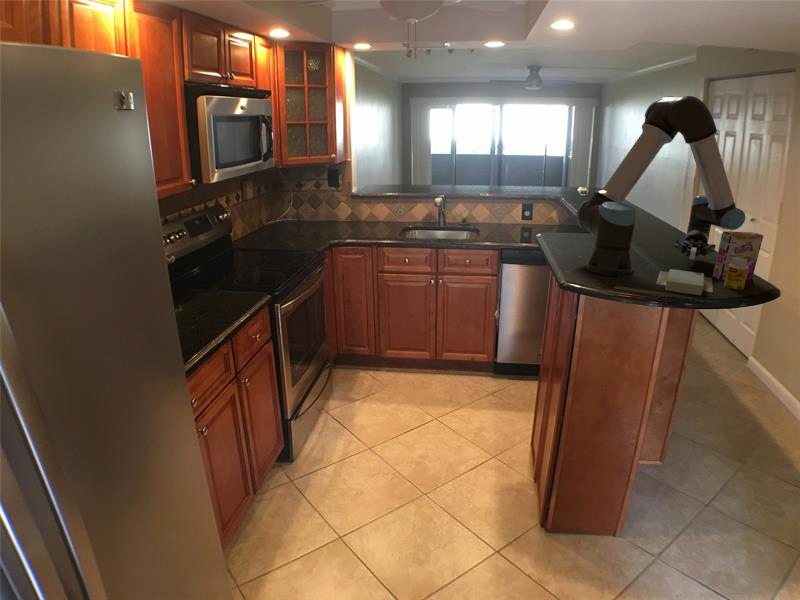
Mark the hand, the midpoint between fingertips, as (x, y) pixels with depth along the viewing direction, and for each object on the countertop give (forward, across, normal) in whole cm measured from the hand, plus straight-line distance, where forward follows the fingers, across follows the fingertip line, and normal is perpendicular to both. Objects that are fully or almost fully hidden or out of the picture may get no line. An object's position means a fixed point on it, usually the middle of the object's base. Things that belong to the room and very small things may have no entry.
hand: (692, 255), depth 178 cm
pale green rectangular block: (+4, +1, -6) cm, 7 cm away
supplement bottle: (+4, -13, -9) cm, 16 cm away
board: (+5, +1, -9) cm, 10 cm away
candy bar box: (-8, -13, -9) cm, 18 cm away
